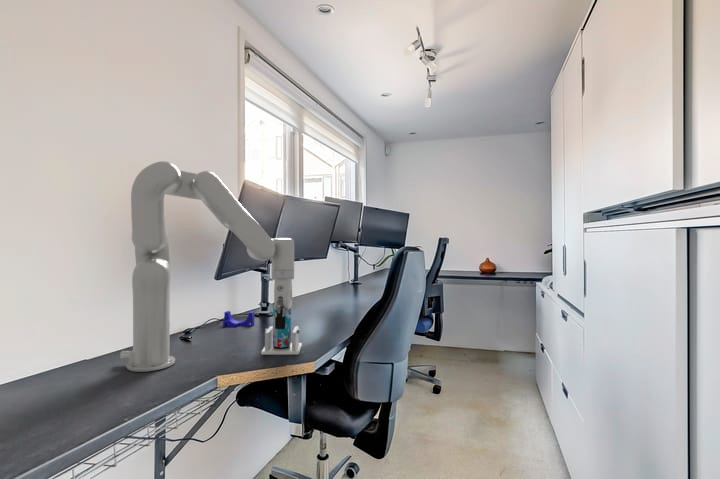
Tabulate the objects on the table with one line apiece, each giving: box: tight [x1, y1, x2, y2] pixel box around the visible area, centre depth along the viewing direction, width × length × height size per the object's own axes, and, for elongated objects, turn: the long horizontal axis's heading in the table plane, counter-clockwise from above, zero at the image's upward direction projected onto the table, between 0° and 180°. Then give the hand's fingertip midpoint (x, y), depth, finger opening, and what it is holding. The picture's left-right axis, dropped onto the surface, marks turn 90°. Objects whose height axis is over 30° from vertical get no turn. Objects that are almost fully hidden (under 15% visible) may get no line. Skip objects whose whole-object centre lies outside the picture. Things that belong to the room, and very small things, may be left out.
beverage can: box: [272, 301, 292, 349], centre depth 132 cm, size 6×6×15 cm
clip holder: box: [260, 325, 303, 356], centre depth 132 cm, size 12×10×7 cm
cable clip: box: [222, 310, 255, 328], centre depth 168 cm, size 12×4×6 cm, turn 89°
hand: (282, 325), depth 132 cm, fingers open, 9 cm apart
